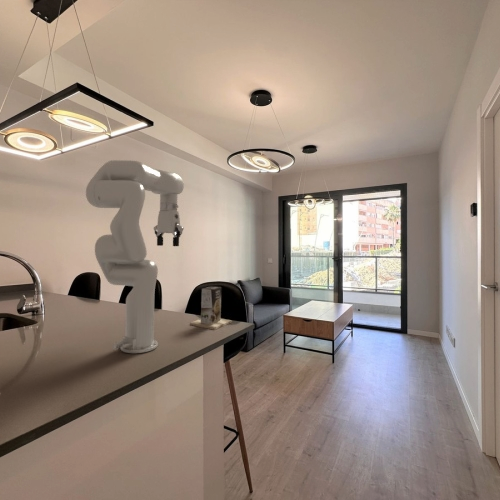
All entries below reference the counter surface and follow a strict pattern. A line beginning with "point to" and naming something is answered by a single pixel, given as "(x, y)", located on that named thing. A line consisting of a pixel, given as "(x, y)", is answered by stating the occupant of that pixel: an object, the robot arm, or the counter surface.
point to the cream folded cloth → (213, 326)
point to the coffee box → (211, 305)
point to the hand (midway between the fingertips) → (167, 245)
